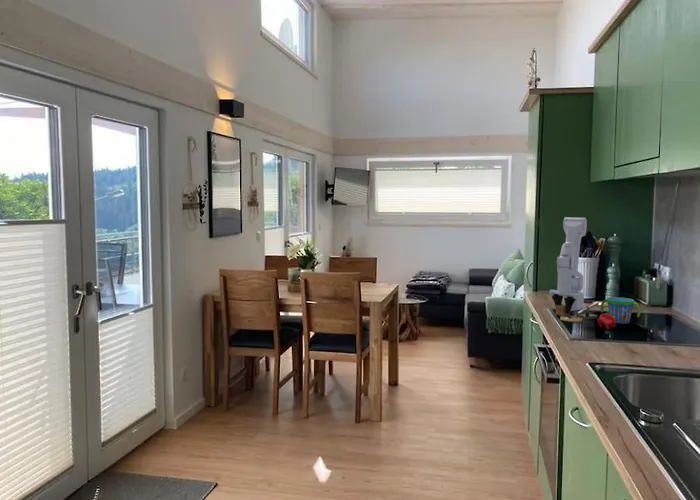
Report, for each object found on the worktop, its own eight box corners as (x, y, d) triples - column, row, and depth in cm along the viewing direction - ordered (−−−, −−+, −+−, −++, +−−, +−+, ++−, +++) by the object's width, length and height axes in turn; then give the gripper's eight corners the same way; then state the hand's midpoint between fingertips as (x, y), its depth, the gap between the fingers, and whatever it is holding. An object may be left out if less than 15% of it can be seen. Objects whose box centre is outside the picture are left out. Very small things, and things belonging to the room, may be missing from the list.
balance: (600, 312, 260) (600, 298, 259) (617, 316, 252) (618, 302, 251) (555, 319, 245) (556, 304, 244) (572, 323, 237) (573, 307, 237)
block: (562, 313, 257) (562, 304, 257) (570, 315, 253) (570, 305, 253) (555, 314, 255) (555, 304, 254) (563, 316, 251) (564, 306, 250)
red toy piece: (605, 322, 224) (617, 314, 224) (594, 315, 229) (606, 307, 229) (608, 335, 228) (620, 328, 228) (597, 328, 233) (609, 320, 234)
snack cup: (595, 321, 242) (596, 297, 241) (607, 317, 249) (608, 295, 248) (632, 327, 230) (633, 303, 229) (643, 324, 237) (645, 300, 236)
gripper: (545, 280, 257) (544, 310, 258) (571, 285, 244) (570, 315, 245) (555, 280, 260) (554, 308, 262) (582, 284, 248) (581, 314, 249)
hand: (563, 312), depth 254 cm, fingers closed on block, 4 cm apart
